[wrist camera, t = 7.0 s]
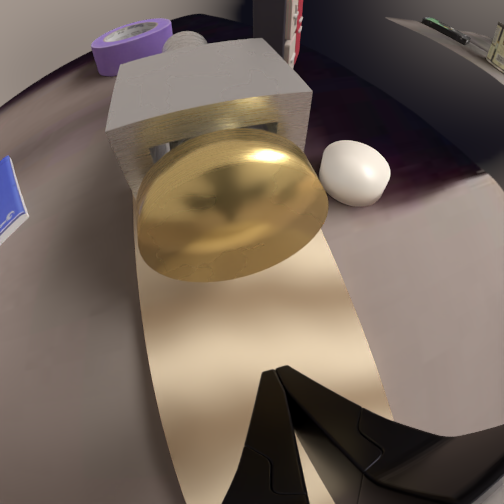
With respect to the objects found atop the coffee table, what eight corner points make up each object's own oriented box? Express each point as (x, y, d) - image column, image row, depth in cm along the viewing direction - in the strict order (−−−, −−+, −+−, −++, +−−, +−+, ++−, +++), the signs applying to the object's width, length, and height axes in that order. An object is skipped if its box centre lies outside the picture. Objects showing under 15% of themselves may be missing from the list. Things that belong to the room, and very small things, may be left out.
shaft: (311, 259, 13) (347, 148, 8) (167, 295, 13) (104, 199, 7) (229, 78, 22) (225, 8, 16) (151, 94, 21) (135, 25, 15)
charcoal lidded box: (288, 91, 27) (296, -45, 14) (247, 85, 27) (244, -47, 14) (300, 55, 32) (308, -45, 19) (268, 51, 33) (270, -48, 20)
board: (399, 468, 11) (407, 471, 10) (201, 528, 10) (198, 535, 9) (277, 152, 22) (278, 143, 21) (136, 184, 21) (132, 175, 20)
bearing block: (289, 236, 17) (312, 91, 9) (169, 265, 16) (105, 131, 8) (260, 165, 20) (262, 37, 12) (160, 187, 19) (120, 64, 11)
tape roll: (180, 39, 37) (176, 13, 33) (167, 67, 31) (161, 34, 27) (112, 53, 37) (106, 29, 32) (87, 84, 31) (77, 56, 27)
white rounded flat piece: (393, 202, 20) (402, 184, 18) (335, 214, 19) (341, 195, 18) (362, 156, 22) (369, 138, 21) (308, 163, 22) (311, 144, 20)
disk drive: (468, 44, 54) (428, 23, 59) (471, 38, 52) (430, 16, 57) (464, 47, 50) (420, 23, 55) (467, 39, 48) (422, 16, 53)
